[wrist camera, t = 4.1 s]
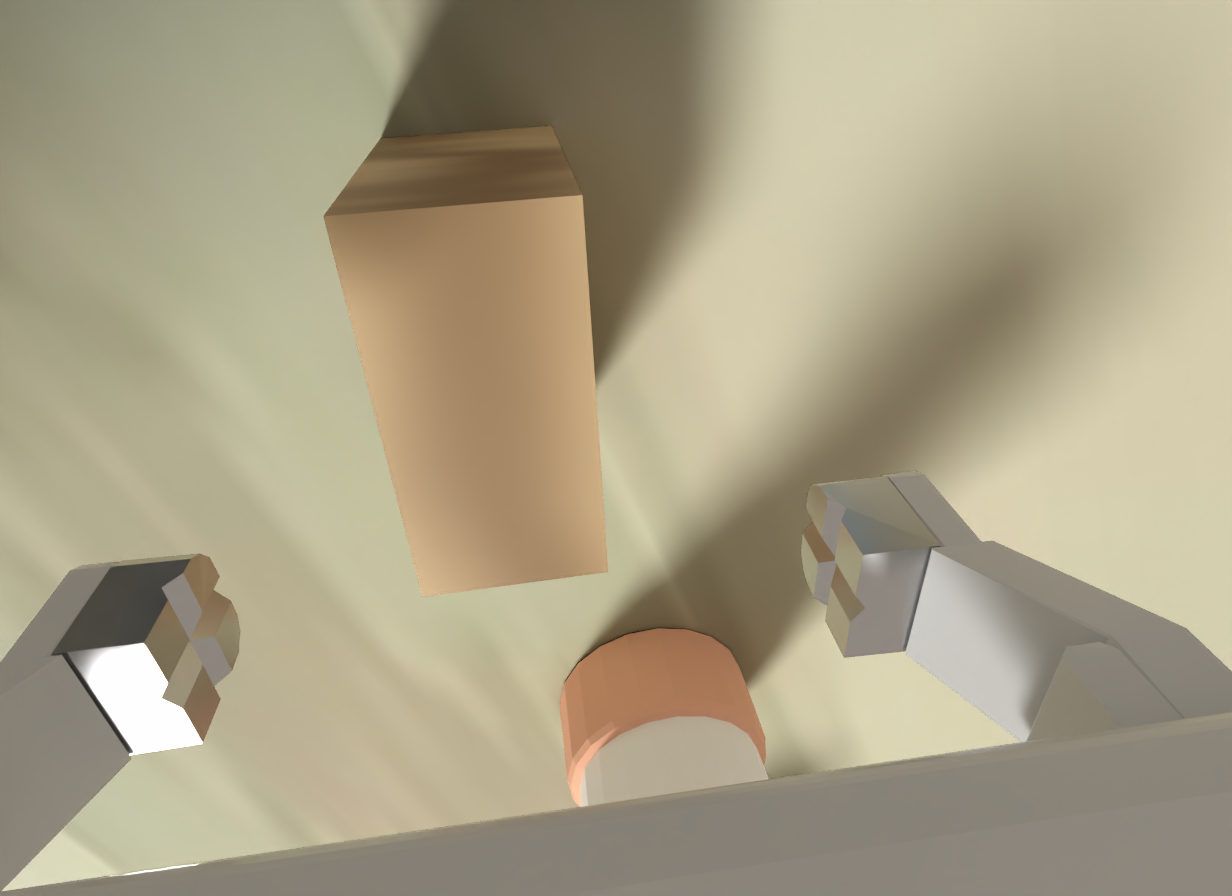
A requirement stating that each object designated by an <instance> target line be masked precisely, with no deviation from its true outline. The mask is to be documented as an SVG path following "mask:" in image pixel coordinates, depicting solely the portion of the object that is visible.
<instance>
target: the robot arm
mask: <svg viewBox="0 0 1232 896" xmlns="http://www.w3.org/2000/svg"><path fill="white" fill-rule="evenodd" d="M806 510H807V512H808V514H809V515H810V517H811V519H812V521H813V522H812V523H811V524H810V525H809V526H808V527H807V529H806V530H805V531H804V532H803V533H802V545H801V556H802V565H803V571H804V575H805V578H806V581H807V584H808V586H809V589H810V591H811V593H812V595H813V597H814V598H816V599H817V600H819V601H820V602H822V603H824V604H825V605H827V606H828V607H827V613H826V620H825V621H826V623H827V625H828V627H829V629H830V631H831V633H832V635H833V637H834V639H835V641H836V643H837V645H838V647H839V649H840V651H841V653H842V654H843V656H844V658H846V657H855V656H865V655H874V654H884V653H893V652H902V651H906V653H905V654H906V655H907V656H908V657H910V658H911V659H912V660H914V661H915V662H916V663H918V664H919V665H920V666H921V667H923V668H924V669H925V670H927V671H928V672H929V673H931V674H932V675H933V676H935V677H936V678H937V679H939V680H940V681H941V682H943V683H944V684H945V685H947V686H948V687H949V688H951V689H952V690H953V691H954V692H956V693H957V694H958V695H960V696H961V697H962V698H964V699H965V700H966V701H968V702H969V703H970V704H972V705H973V706H974V707H976V708H977V709H978V710H980V711H981V712H982V713H984V714H985V715H986V716H988V717H989V718H990V719H991V720H993V721H994V722H995V723H997V724H998V725H999V726H1001V727H1002V728H1003V729H1005V730H1006V731H1007V732H1009V733H1010V734H1011V735H1013V736H1014V737H1015V738H1017V739H1018V740H1019V741H1021V742H1020V743H1013V744H1006V745H1000V746H993V747H986V748H979V749H972V750H965V751H959V752H952V753H945V754H938V755H931V756H924V757H917V758H911V759H904V760H897V761H890V762H883V763H876V764H870V765H863V766H856V767H849V768H842V769H835V770H829V771H822V772H815V773H808V774H801V775H794V776H788V777H781V778H774V779H767V780H760V781H753V782H747V783H740V784H733V785H726V786H719V787H712V788H706V789H699V790H692V791H685V792H678V793H671V794H665V795H658V796H651V797H644V798H637V799H630V800H624V801H617V802H610V803H603V804H596V805H589V806H583V807H576V808H569V809H562V810H555V811H549V812H542V813H535V814H528V815H521V816H514V817H508V818H501V819H494V820H487V821H480V822H474V823H467V824H460V825H453V826H446V827H439V828H433V829H426V830H419V831H412V832H405V833H398V834H392V835H385V836H378V837H371V838H364V839H357V840H351V841H344V842H337V843H330V844H323V845H316V846H309V847H303V848H296V849H289V850H282V851H275V852H268V853H261V854H255V855H248V856H241V857H234V858H227V859H220V860H214V861H207V862H200V863H193V864H186V865H179V866H172V867H166V868H159V869H152V870H145V871H138V872H131V873H125V874H118V875H111V876H104V877H97V878H91V879H84V880H77V881H70V882H63V883H57V884H50V885H43V886H36V887H29V888H23V889H16V890H9V891H2V890H3V889H4V888H5V887H6V886H7V885H8V884H9V883H10V882H11V881H12V880H13V879H14V878H15V877H16V876H17V875H18V874H19V873H20V871H21V870H22V869H23V868H24V867H25V866H26V865H27V864H28V863H29V862H30V861H31V860H32V859H33V858H34V857H35V856H36V855H37V854H38V853H39V852H40V851H41V850H42V849H43V848H44V847H45V846H46V845H47V844H48V843H49V842H50V841H51V840H52V839H53V838H54V837H55V836H56V835H57V834H58V833H59V832H60V831H61V830H62V829H63V828H64V827H65V826H66V825H67V824H68V823H69V822H70V821H71V820H72V819H73V818H74V817H75V816H76V815H77V813H78V812H79V811H80V810H81V809H82V808H83V807H84V806H85V805H86V804H87V803H88V802H89V801H90V800H91V799H92V798H93V797H94V796H95V795H96V794H97V793H98V792H99V791H100V790H101V789H102V788H103V787H104V786H105V785H106V784H107V783H108V782H109V781H110V780H111V779H112V778H113V777H114V776H115V775H116V774H117V773H118V772H119V771H120V770H121V769H122V768H123V767H124V766H125V765H126V764H127V763H128V762H129V761H130V760H131V756H130V755H133V754H139V753H146V752H152V751H158V750H164V749H171V748H177V747H183V746H189V745H195V744H202V743H203V741H204V738H205V736H206V734H207V731H208V729H209V726H210V724H211V721H212V719H213V716H214V714H215V711H216V709H217V707H218V704H219V702H220V697H219V695H218V693H217V691H216V689H215V687H214V686H215V685H216V684H217V683H218V682H220V681H221V680H222V679H223V678H224V677H225V676H227V675H228V674H229V673H230V672H231V671H232V669H233V667H234V664H235V661H236V658H237V656H238V653H239V642H240V627H239V622H238V616H237V613H236V611H235V609H234V606H233V604H232V602H231V601H230V600H229V599H227V598H225V597H224V596H222V595H221V594H219V593H217V592H216V591H214V590H213V589H214V587H215V585H216V583H217V581H218V579H219V577H220V576H219V574H218V572H217V570H216V568H215V566H214V565H213V563H212V561H211V559H210V557H207V556H205V555H202V554H190V555H179V556H168V557H157V558H146V559H136V560H125V561H121V562H108V563H98V564H89V565H82V566H79V567H77V568H75V569H73V570H71V571H69V573H68V574H67V575H66V577H65V578H64V579H63V580H62V582H61V583H60V584H59V586H58V587H57V588H56V590H55V591H54V592H53V594H52V595H51V596H50V598H49V599H48V600H47V602H46V603H45V604H44V606H43V607H42V608H41V610H40V611H39V612H38V614H37V615H36V616H35V618H34V619H33V620H32V621H31V623H30V624H29V625H28V627H27V628H26V629H25V631H24V632H23V633H22V635H21V636H20V637H19V639H18V640H17V641H16V643H15V644H14V645H13V647H12V648H11V649H10V651H9V652H8V653H7V655H6V656H5V657H4V659H3V660H2V661H1V662H0V896H1232V671H1231V670H1230V669H1228V668H1227V667H1226V666H1225V665H1224V664H1223V663H1222V662H1221V661H1220V660H1219V659H1218V658H1217V657H1216V656H1215V655H1214V654H1213V653H1212V652H1211V651H1210V650H1209V649H1207V648H1206V647H1205V646H1204V645H1203V644H1202V643H1201V642H1200V641H1199V640H1198V639H1197V638H1196V637H1195V636H1194V635H1193V634H1192V633H1191V632H1190V631H1189V630H1188V629H1186V628H1185V627H1182V626H1180V625H1178V624H1176V623H1174V622H1171V621H1169V620H1167V619H1165V618H1163V617H1160V616H1158V615H1156V614H1154V613H1151V612H1149V611H1147V610H1145V609H1143V608H1140V607H1138V606H1136V605H1134V604H1132V603H1129V602H1127V601H1125V600H1123V599H1120V598H1118V597H1116V596H1114V595H1112V594H1109V593H1107V592H1105V591H1103V590H1101V589H1098V588H1096V587H1094V586H1092V585H1089V584H1087V583H1085V582H1083V581H1081V580H1078V579H1076V578H1074V577H1072V576H1070V575H1067V574H1065V573H1063V572H1061V571H1059V570H1056V569H1054V568H1052V567H1050V566H1047V565H1045V564H1043V563H1041V562H1039V561H1036V560H1034V559H1032V558H1030V557H1028V556H1025V555H1023V554H1021V553H1019V552H1016V551H1014V550H1012V549H1010V548H1008V547H1005V546H1003V545H1001V544H999V543H997V542H994V541H986V542H981V540H980V539H979V538H978V537H977V536H976V535H975V533H974V532H973V531H972V530H971V529H970V528H969V526H968V525H967V524H966V523H965V522H964V521H963V519H962V518H961V517H960V516H959V515H958V514H957V512H956V511H955V510H954V509H953V508H952V507H951V505H950V504H949V503H948V502H947V501H946V500H945V498H944V497H943V496H942V495H941V494H940V493H939V492H938V490H937V489H936V488H935V487H934V486H933V485H932V483H931V482H930V481H929V480H928V479H927V478H926V476H925V475H924V474H922V473H920V472H918V471H916V470H915V471H908V472H901V473H894V474H886V475H881V476H880V477H872V478H864V479H855V480H847V481H838V482H830V483H821V484H813V485H811V487H810V489H809V491H808V494H807V501H806ZM1 891H2V892H1Z"/></svg>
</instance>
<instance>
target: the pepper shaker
mask: <svg viewBox="0 0 1232 896" xmlns="http://www.w3.org/2000/svg"><path fill="white" fill-rule="evenodd" d="M560 709H561V719H562V730H563V740H564V750H565V760H566V771H567V780H568V783H569V787H570V791H571V794H572V798H573V799H574V801H575V802H576V803H577V804H578V805H579V806H580V807H583V806H589V805H596V804H603V803H610V802H617V801H624V800H630V799H637V798H644V797H651V796H658V795H665V794H671V793H678V792H685V791H692V790H699V789H706V788H712V787H719V786H726V785H733V784H740V783H747V782H753V781H760V780H767V779H769V778H768V776H767V773H766V770H765V768H764V763H765V757H766V749H765V735H764V733H763V730H762V727H761V724H760V722H759V719H758V716H757V714H756V711H755V708H754V705H753V703H752V700H751V697H750V695H749V692H748V689H747V686H746V684H745V681H744V678H743V676H742V673H741V670H740V667H739V665H738V664H737V662H736V660H735V658H734V657H733V655H732V653H731V651H730V650H729V649H728V648H726V647H725V646H724V645H722V644H721V643H719V642H718V641H717V640H715V639H714V638H712V637H711V636H707V635H704V634H701V633H697V632H694V631H691V630H687V629H660V628H657V629H652V630H647V631H642V632H637V633H632V634H627V635H625V636H623V637H620V638H618V639H616V640H614V641H611V642H609V643H607V644H605V645H602V646H600V647H599V648H597V649H596V650H595V651H593V652H592V653H591V654H590V655H588V656H587V657H586V658H584V659H583V660H582V661H581V662H579V663H578V664H577V666H576V667H575V669H574V670H573V671H572V673H571V674H570V676H569V677H568V679H567V680H566V681H565V683H564V687H563V691H562V696H561V700H560Z"/></svg>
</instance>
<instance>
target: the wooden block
mask: <svg viewBox="0 0 1232 896" xmlns="http://www.w3.org/2000/svg"><path fill="white" fill-rule="evenodd" d="M323 217H324V220H325V224H326V228H327V232H328V236H329V240H330V243H331V247H332V251H333V255H334V259H335V263H336V267H337V270H338V274H339V278H340V282H341V286H342V290H343V293H344V297H345V301H346V305H347V309H348V313H349V317H350V320H351V324H352V328H353V332H354V336H355V340H356V344H357V347H358V351H359V355H360V359H361V363H362V367H363V370H364V374H365V378H366V382H367V386H368V390H369V394H370V397H371V401H372V405H373V409H374V413H375V417H376V420H377V424H378V428H379V432H380V436H381V440H382V444H383V447H384V451H385V455H386V459H387V463H388V467H389V470H390V474H391V478H392V482H393V486H394V490H395V494H396V497H397V501H398V505H399V509H400V513H401V517H402V520H403V524H404V528H405V532H406V536H407V540H408V544H409V547H410V551H411V555H412V559H413V563H414V567H415V570H416V574H417V578H418V582H419V586H420V590H421V594H422V597H424V596H432V595H439V594H446V593H454V592H461V591H469V590H476V589H484V588H491V587H499V586H506V585H514V584H521V583H529V582H536V581H544V580H551V579H559V578H566V577H573V576H581V575H588V574H596V573H603V572H608V563H607V548H606V533H605V519H604V504H603V489H602V474H601V460H600V445H599V430H598V416H597V401H596V386H595V372H594V357H593V342H592V327H591V313H590V298H589V283H588V269H587V254H586V239H585V225H584V210H583V195H582V193H581V191H580V188H579V186H578V184H577V182H576V179H575V177H574V175H573V173H572V170H571V168H570V166H569V164H568V161H567V159H566V157H565V155H564V152H563V150H562V148H561V146H560V143H559V141H558V139H557V137H556V134H555V132H554V130H553V128H552V126H542V127H528V128H514V129H500V130H486V131H473V132H459V133H445V134H431V135H418V136H404V137H390V138H381V139H380V140H379V141H378V143H377V144H376V145H375V147H374V148H373V150H372V151H371V152H370V154H369V155H368V156H367V158H366V159H365V160H364V162H363V163H362V165H361V166H360V167H359V169H358V170H357V171H356V173H355V174H354V175H353V177H352V178H351V179H350V181H349V182H348V184H347V185H346V186H345V188H344V189H343V190H342V192H341V193H340V194H339V196H338V197H337V199H336V200H335V201H334V203H333V204H332V205H331V207H330V208H329V209H328V211H327V212H326V214H325V215H324V216H323Z"/></svg>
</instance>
